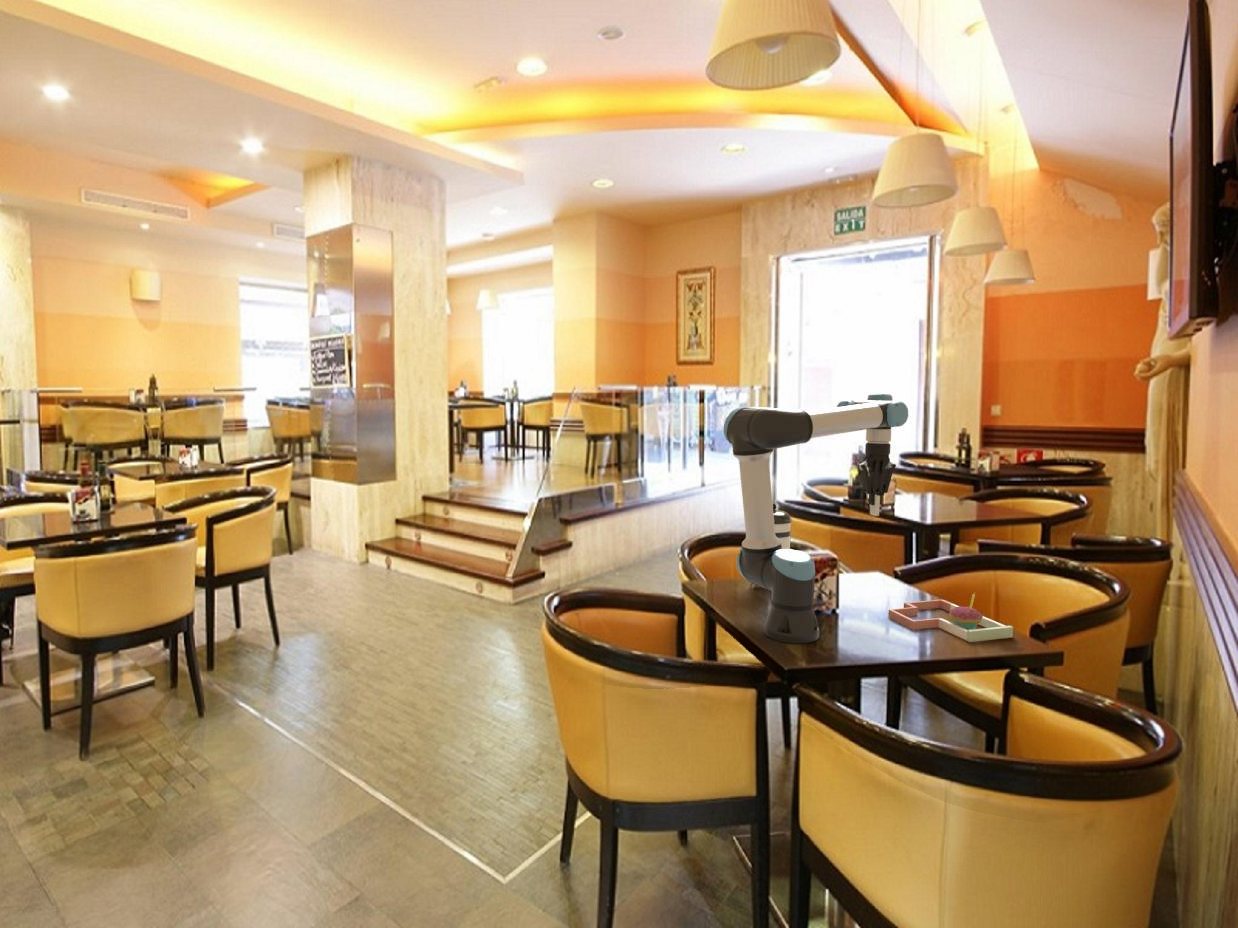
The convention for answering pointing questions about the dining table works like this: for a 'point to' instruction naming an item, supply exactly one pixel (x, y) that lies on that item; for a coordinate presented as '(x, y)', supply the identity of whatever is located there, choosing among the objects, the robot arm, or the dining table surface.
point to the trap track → (911, 609)
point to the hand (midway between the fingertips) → (874, 514)
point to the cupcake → (966, 616)
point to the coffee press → (781, 529)
